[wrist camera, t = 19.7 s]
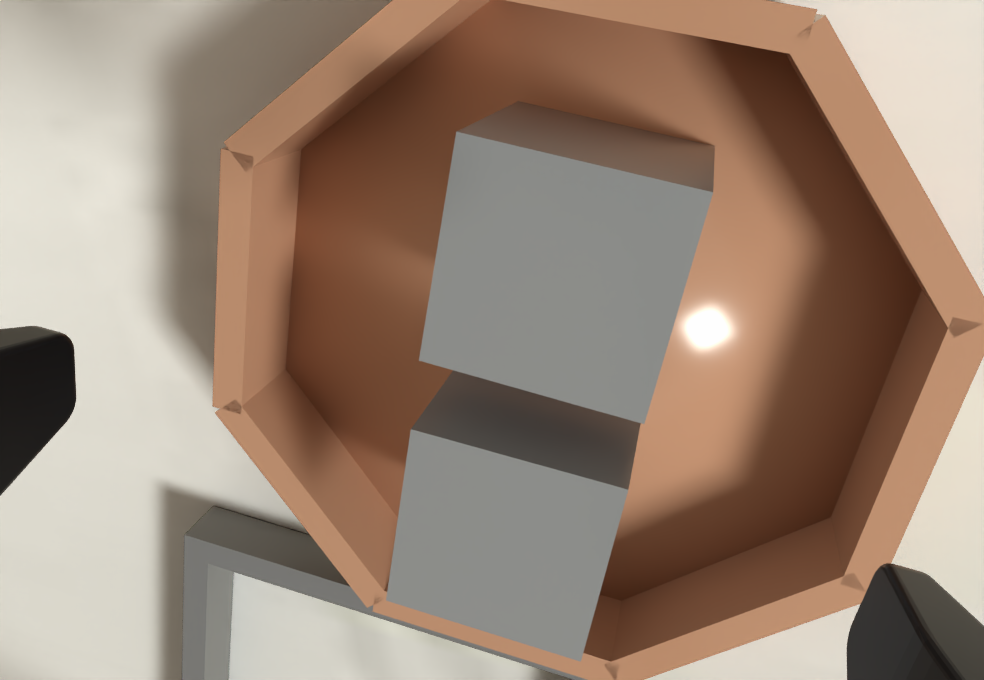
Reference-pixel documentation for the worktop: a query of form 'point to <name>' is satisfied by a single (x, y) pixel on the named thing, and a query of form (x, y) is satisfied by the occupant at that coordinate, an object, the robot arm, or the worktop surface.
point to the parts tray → (267, 557)
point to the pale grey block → (510, 512)
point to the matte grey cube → (565, 255)
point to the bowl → (696, 332)
